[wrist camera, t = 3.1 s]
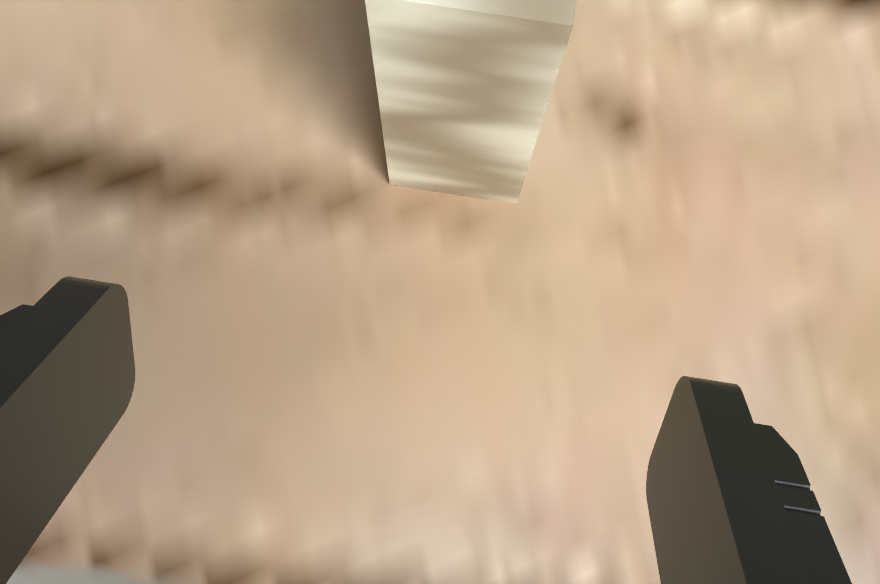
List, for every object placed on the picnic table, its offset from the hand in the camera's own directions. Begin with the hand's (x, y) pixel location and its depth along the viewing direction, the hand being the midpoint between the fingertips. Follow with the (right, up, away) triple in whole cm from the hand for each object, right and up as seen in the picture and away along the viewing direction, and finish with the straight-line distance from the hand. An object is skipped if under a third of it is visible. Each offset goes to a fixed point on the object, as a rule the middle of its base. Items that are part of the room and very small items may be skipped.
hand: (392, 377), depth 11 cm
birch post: (+2, +7, +16) cm, 18 cm away
